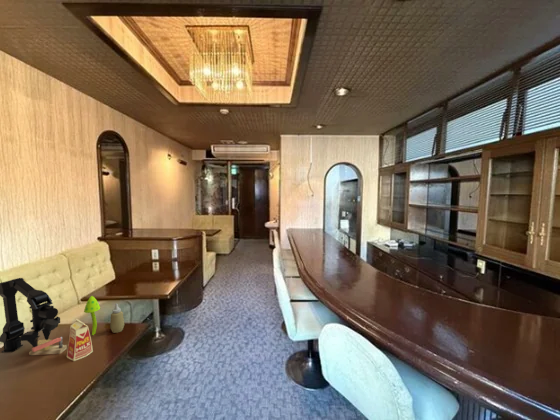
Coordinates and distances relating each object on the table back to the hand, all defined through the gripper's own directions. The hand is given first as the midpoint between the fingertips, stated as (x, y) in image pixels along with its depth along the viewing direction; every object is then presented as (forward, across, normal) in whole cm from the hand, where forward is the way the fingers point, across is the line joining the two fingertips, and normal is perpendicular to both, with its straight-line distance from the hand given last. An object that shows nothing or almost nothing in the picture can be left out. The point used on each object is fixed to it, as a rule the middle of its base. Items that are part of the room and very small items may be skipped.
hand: (41, 343), depth 144 cm
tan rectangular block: (+5, +4, +2) cm, 7 cm away
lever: (+1, -1, -4) cm, 4 cm away
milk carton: (+7, -2, -21) cm, 22 cm away
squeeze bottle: (+8, +23, -28) cm, 37 cm away
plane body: (+7, +4, -1) cm, 8 cm away
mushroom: (+7, +20, -15) cm, 26 cm away
